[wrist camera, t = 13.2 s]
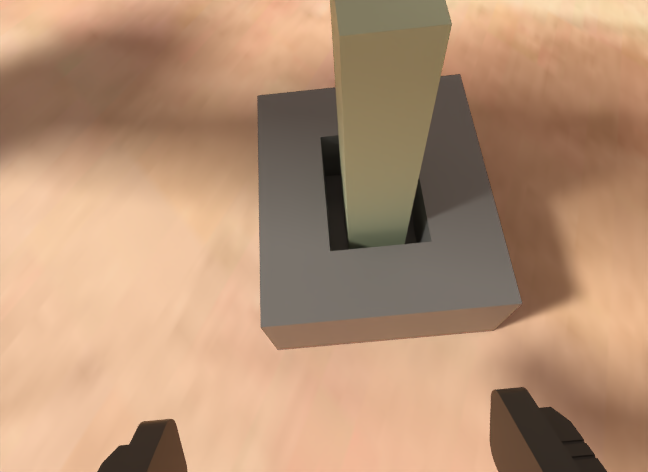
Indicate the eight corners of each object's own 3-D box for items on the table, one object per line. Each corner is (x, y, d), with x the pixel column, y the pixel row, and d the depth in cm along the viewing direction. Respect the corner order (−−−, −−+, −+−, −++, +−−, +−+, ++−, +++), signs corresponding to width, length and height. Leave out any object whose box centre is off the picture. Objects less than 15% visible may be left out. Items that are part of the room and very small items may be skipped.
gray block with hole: (277, 349, 26) (260, 327, 21) (271, 146, 32) (257, 95, 27) (493, 330, 25) (522, 303, 21) (445, 128, 32) (460, 74, 27)
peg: (349, 262, 27) (338, 35, 12) (341, 189, 29) (325, -77, 14) (401, 258, 27) (451, 24, 12) (389, 184, 29) (420, -88, 14)
